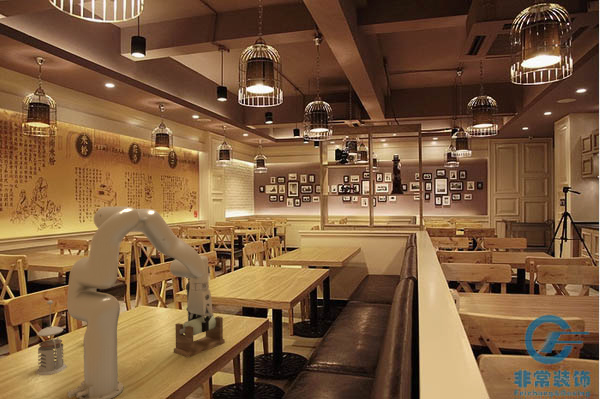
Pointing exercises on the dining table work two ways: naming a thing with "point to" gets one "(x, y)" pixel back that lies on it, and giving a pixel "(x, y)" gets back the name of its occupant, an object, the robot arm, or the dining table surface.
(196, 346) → the holder
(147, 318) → the dining table surface
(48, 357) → the french press
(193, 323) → the roll
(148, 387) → the dining table surface
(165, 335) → the dining table surface
